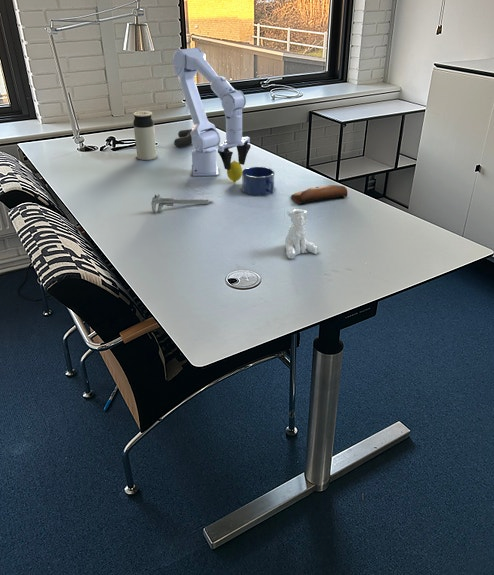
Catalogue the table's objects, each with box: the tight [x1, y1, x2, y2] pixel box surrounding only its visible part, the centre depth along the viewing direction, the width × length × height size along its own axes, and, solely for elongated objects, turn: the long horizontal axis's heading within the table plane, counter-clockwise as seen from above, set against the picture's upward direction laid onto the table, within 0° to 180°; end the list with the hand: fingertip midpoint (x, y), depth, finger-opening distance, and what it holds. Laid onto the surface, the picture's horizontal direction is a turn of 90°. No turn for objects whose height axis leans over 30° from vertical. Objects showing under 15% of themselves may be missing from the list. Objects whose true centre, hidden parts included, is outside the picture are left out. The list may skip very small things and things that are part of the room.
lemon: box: [226, 160, 243, 183], centre depth 191 cm, size 6×6×8 cm
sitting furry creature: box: [284, 208, 319, 260], centre depth 144 cm, size 10×9×12 cm
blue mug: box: [241, 166, 275, 196], centre depth 184 cm, size 14×11×6 cm
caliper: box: [151, 193, 213, 214], centre depth 171 cm, size 20×1×6 cm, turn 116°
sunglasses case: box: [291, 184, 348, 205], centre depth 179 cm, size 18×7×7 cm
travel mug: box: [132, 110, 158, 161], centre depth 213 cm, size 8×8×18 cm
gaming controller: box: [173, 128, 193, 148], centre depth 234 cm, size 17×6×10 cm
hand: (234, 166), depth 190 cm, fingers open, 7 cm apart
